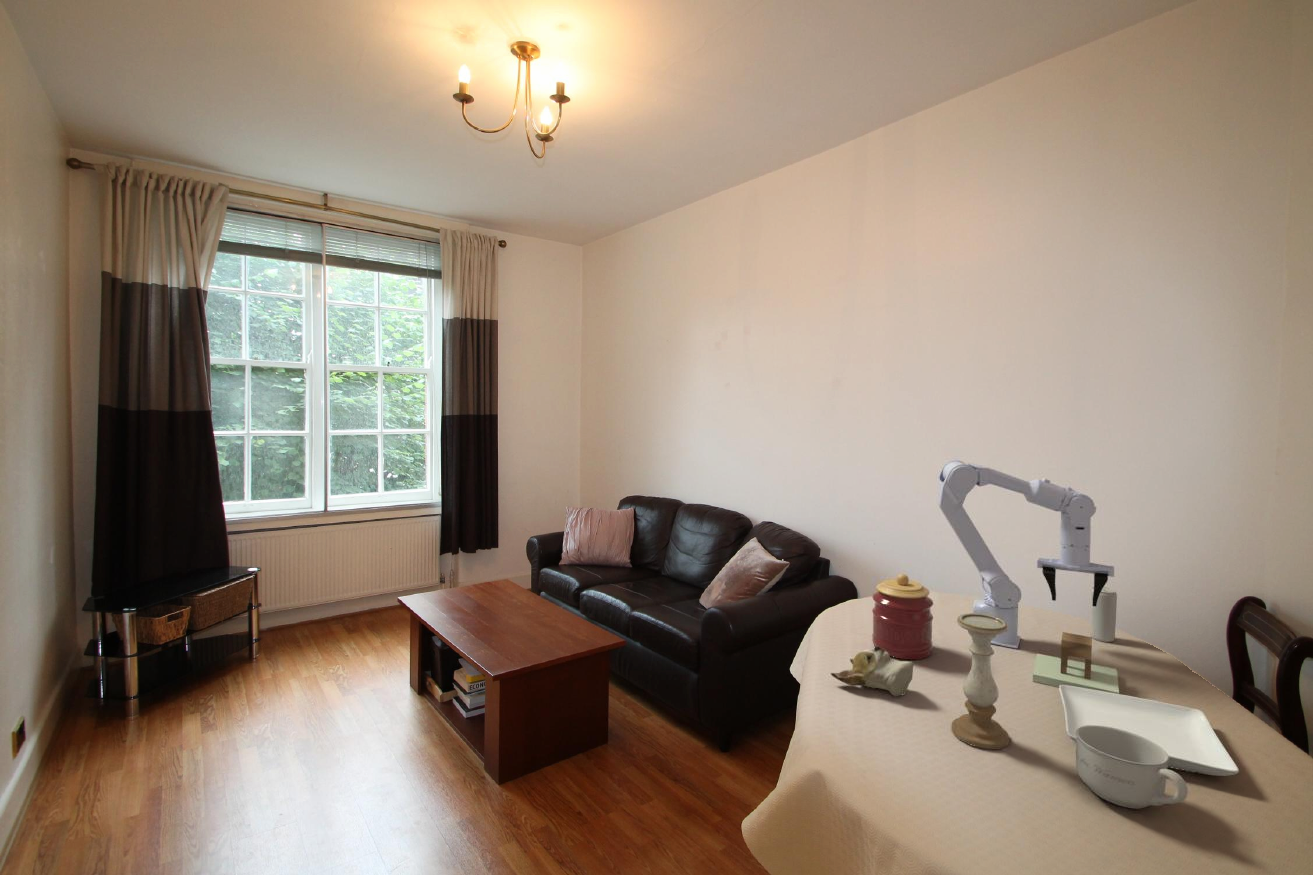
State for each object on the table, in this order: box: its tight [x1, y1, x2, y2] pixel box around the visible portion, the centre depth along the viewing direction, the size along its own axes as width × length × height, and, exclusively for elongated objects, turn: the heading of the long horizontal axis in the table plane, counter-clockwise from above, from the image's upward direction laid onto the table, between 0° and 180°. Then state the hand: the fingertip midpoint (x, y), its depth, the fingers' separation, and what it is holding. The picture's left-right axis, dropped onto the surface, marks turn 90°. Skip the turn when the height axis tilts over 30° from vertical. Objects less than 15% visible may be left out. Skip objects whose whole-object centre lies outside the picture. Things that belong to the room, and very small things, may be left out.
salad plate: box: [1058, 685, 1240, 777], centre depth 103 cm, size 21×21×3 cm
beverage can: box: [1089, 586, 1118, 643], centre depth 144 cm, size 5×5×12 cm
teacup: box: [1075, 725, 1189, 809], centre depth 87 cm, size 14×11×8 cm
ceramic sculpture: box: [830, 647, 914, 697], centre depth 123 cm, size 11×9×15 cm
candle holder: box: [950, 612, 1010, 750], centre depth 104 cm, size 9×9×20 cm
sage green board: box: [1032, 653, 1120, 694], centre depth 125 cm, size 14×12×2 cm
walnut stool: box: [1060, 631, 1093, 680], centre depth 124 cm, size 5×5×7 cm
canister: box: [871, 573, 934, 660], centre depth 140 cm, size 13×13×18 cm
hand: (1073, 602), depth 140 cm, fingers open, 7 cm apart
